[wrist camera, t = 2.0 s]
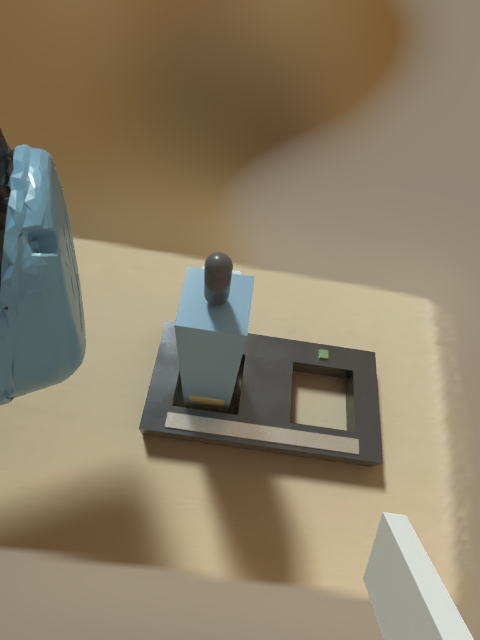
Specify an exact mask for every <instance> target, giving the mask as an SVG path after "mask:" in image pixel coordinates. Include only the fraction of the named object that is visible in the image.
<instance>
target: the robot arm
mask: <svg viewBox="0 0 480 640" xmlns="http://www.w3.org/2000/svg"><path fill="white" fill-rule="evenodd" d="M85 347H86V339H85V322H84V312H83V303H82V295H81V288H80V281H79V274H78V267H77V261H76V255H75V250H74V244H73V238H72V232H71V227H70V222H69V217H68V212H67V207H66V203H65V199H64V194H63V190H62V186H61V182H60V179H59V177H58V175H57V172H56V169H55V163H54V160H53V158H52V157H51V155H50V154H49V153H48V152H46V151H45V150H42V149H36V148H31V147H29V146H28V145H26V144H25V145H20V146H17V147H16V148H15V150H12V149H11V148H10V146H9V145H8V144H7V142H6V140H5V138H4V136H3V133H2V131H1V129H0V405H3V404H6V403H9V402H11V401H12V400H13V398H15V397H18V396H22V395H25V394H28V393H31V392H34V391H37V390H40V389H43V388H46V387H49V386H52V385H55V384H58V383H61V382H63V381H64V380H66V379H67V378H69V377H70V376H71V375H72V374H73V373H74V372H75V371H76V370H77V369H78V367H79V366H80V365H81V363H82V361H83V358H84V355H85ZM363 579H364V582H365V585H366V588H367V591H368V594H369V597H370V600H371V603H372V606H373V609H374V612H375V615H376V618H377V621H378V625H379V628H380V630H381V634H382V637H383V640H474V639H473V637H472V636H471V634H470V632H469V630H468V628H467V626H466V625H465V623H464V621H463V619H462V617H461V615H460V614H459V612H458V610H457V608H456V606H455V604H454V603H453V601H452V599H451V597H450V595H449V593H448V592H447V590H446V588H445V586H444V584H443V582H442V580H441V579H440V577H439V575H438V573H437V571H436V569H435V568H434V566H433V564H432V562H431V560H430V558H429V557H428V555H427V553H426V551H425V549H424V547H423V546H422V544H421V542H420V540H419V538H418V536H417V535H416V533H415V531H414V529H413V527H412V525H411V524H410V522H409V520H408V518H407V516H406V515H401V514H394V513H387V512H383V513H382V516H381V520H380V523H379V527H378V530H377V533H376V537H375V540H374V544H373V547H372V550H371V554H370V557H369V561H368V564H367V567H366V571H365V574H364V578H363Z"/></svg>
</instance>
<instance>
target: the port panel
mask: <svg viewBox="0 0 480 640" xmlns="http://www.w3.org/2000/svg"><path fill="white" fill-rule="evenodd" d="M174 324H175V322H168V321H166V322H165V326H164V330H163V334H162V338H161V342H160V346H159V350H158V354H157V358H156V362H155V366H154V370H153V374H152V378H151V382H150V386H149V390H148V394H147V398H146V402H145V406H144V410H143V414H142V418H141V422H140V427H139V429H140V431H141V433H142V434H146V435H153V436H160V437H167V438H174V439H181V440H188V441H195V442H202V443H210V444H217V445H224V446H231V447H238V448H245V449H252V450H259V451H266V452H273V453H281V454H288V455H295V456H302V457H309V458H316V459H323V460H330V461H337V462H344V463H352V464H359V465H366V466H376V465H378V464H381V463H383V461H382V446H381V432H380V417H379V403H378V388H377V374H376V359H375V352H370V351H363V350H356V349H350V348H343V347H336V346H330V345H323V344H316V343H309V342H303V341H296V340H289V339H283V338H276V337H269V336H262V335H256V334H249V333H247V338H246V342H245V346H244V350H243V354H242V358H241V362H240V363H243V369H242V377H241V386H240V394H239V402H238V410H237V415H233V414H226V413H219V412H212V411H205V410H198V409H191V408H184V407H177V406H175V402H176V397H177V392H178V387H179V382H180V378H181V376H180V368H179V360H178V352H177V344H176V335H175V327H174ZM293 370H294V371H301V372H308V373H315V374H321V375H328V376H335V377H342V378H346V413H347V431H345V430H338V429H331V428H324V427H317V426H310V425H303V424H296V423H290V412H291V392H292V372H293Z"/></svg>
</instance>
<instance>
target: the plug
mask: <svg viewBox="0 0 480 640" xmlns="http://www.w3.org/2000/svg"><path fill="white" fill-rule="evenodd" d="M232 269H233V265H232V261H231V259H230V258H229V257H228V256H227V255H226V254H223V253H219V252H218V253H213V254H211V255H210V256H209V257H208V258H207V259H206V261H205V266H204V265H203V269H199V268H193V267H188V268H187V273H186V277H185V281H184V285H183V290H182V294H181V298H180V303H179V307H178V311H177V315H176V320H175V324H174V327H175V335H176V344H177V352H178V360H179V368H180V376H181V384H182V392H183V400H184V405H189V406H196V407H203V408H210V409H217V410H224V411H229V407H230V403H231V399H232V395H233V391H234V387H235V383H236V379H237V375H238V371H239V366H240V362H241V358H242V354H243V350H244V346H245V342H246V338H247V333H248V324H249V316H250V308H251V300H252V291H253V283H254V277H252V276H245V275H241V271H237V270H232Z"/></svg>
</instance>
